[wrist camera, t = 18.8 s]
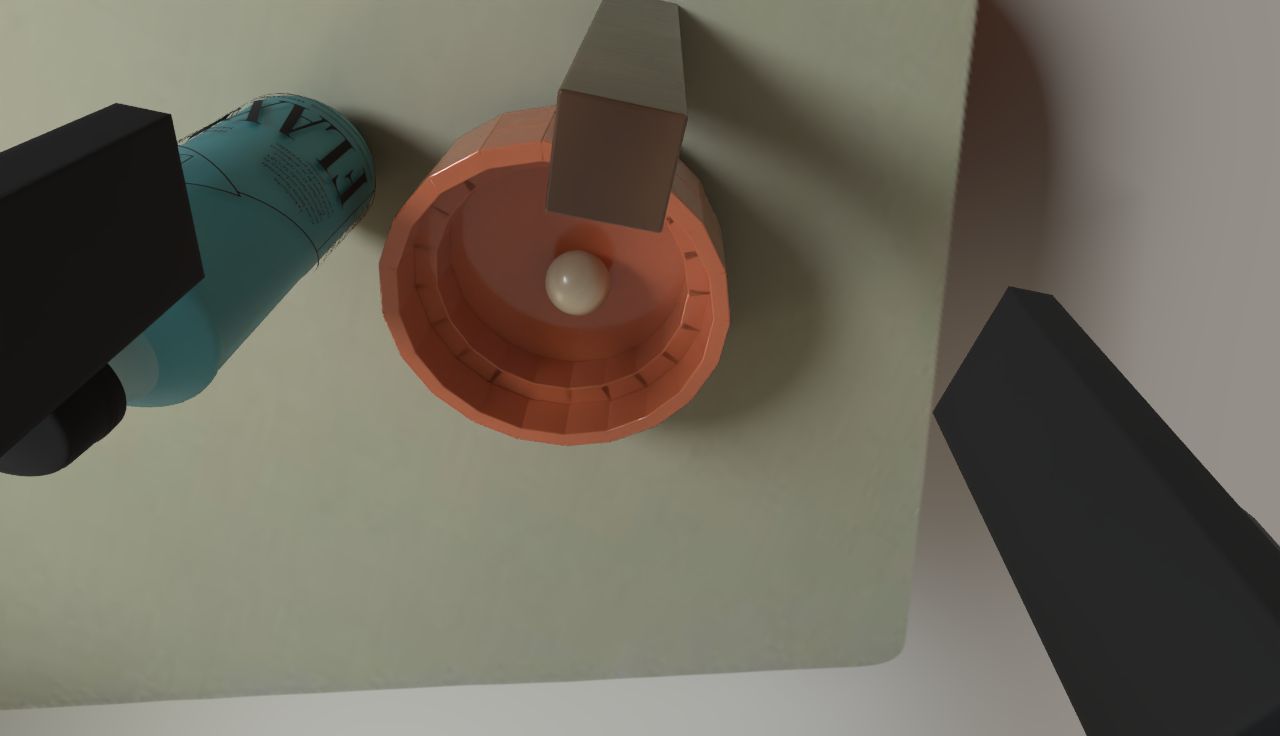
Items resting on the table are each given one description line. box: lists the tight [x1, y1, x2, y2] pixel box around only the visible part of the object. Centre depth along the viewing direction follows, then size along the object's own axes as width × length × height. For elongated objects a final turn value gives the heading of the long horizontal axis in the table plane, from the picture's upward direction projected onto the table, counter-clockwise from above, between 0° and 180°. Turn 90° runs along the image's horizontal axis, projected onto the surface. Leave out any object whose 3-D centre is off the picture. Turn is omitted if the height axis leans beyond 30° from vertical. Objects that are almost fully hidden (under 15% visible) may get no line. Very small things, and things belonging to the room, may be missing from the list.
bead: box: [545, 250, 611, 316], centre depth 33 cm, size 3×3×3 cm
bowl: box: [379, 105, 731, 446], centre depth 33 cm, size 16×16×6 cm
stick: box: [545, 0, 688, 233], centre depth 23 cm, size 3×3×16 cm
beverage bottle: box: [0, 93, 376, 476], centre depth 24 cm, size 6×7×20 cm
